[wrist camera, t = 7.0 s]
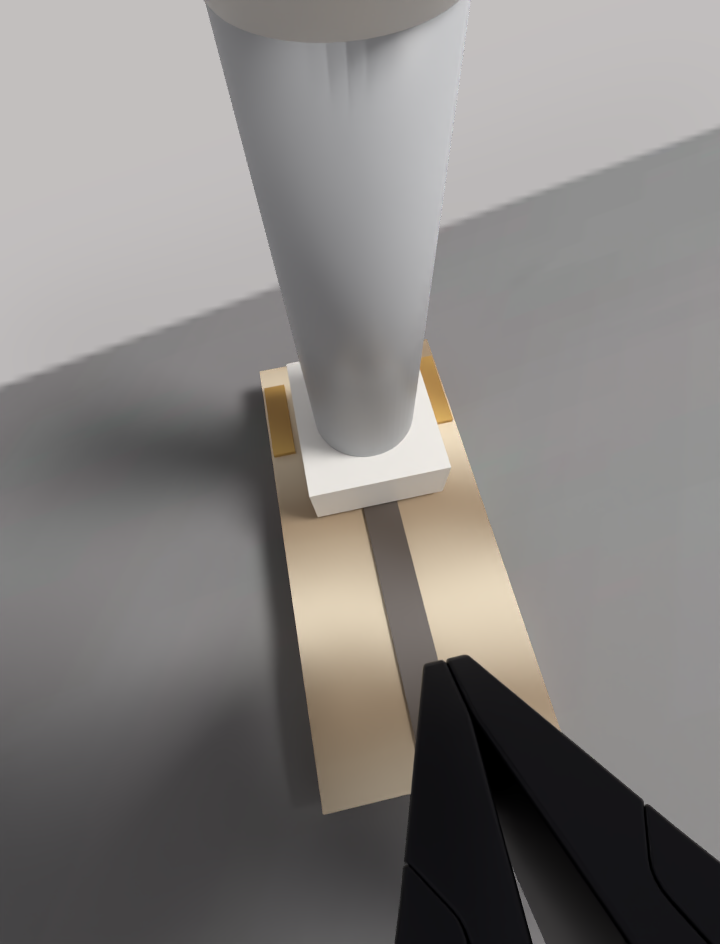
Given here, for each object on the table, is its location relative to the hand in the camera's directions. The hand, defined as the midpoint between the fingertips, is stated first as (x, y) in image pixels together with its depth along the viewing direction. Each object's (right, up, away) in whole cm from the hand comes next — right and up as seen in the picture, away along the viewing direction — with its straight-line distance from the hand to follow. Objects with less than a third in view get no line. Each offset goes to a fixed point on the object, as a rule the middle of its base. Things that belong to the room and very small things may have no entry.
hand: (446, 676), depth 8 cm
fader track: (-1, +1, +8) cm, 9 cm away
